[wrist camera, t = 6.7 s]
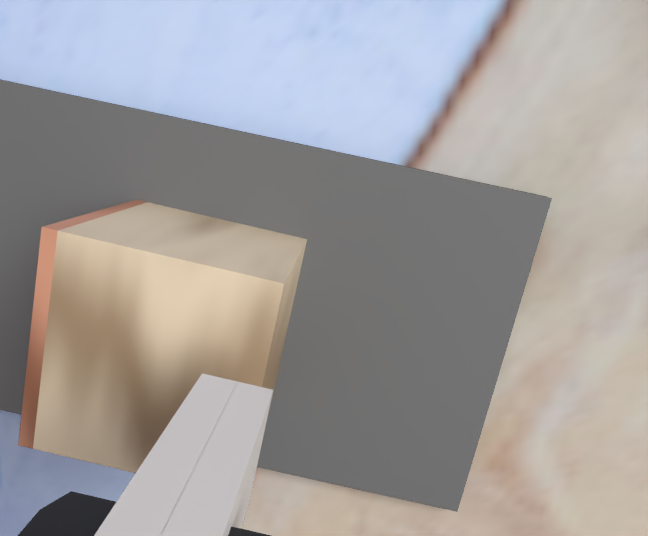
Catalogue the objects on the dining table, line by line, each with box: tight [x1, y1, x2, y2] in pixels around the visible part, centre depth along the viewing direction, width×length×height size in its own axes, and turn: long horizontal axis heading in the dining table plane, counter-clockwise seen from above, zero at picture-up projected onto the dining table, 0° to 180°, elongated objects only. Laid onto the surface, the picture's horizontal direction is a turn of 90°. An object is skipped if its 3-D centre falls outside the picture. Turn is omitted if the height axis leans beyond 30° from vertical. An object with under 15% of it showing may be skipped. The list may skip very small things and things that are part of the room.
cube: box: [18, 200, 307, 473], centre depth 17 cm, size 6×6×6 cm
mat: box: [0, 80, 552, 511], centre depth 21 cm, size 12×20×1 cm, turn 78°
